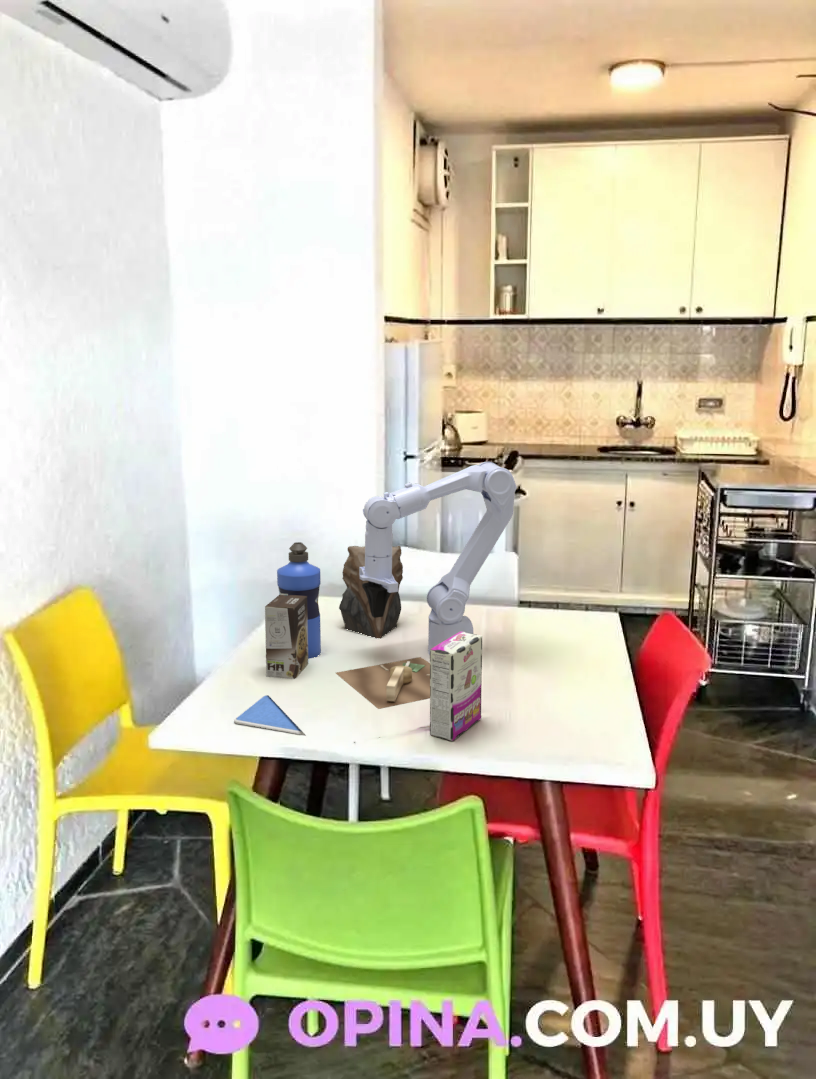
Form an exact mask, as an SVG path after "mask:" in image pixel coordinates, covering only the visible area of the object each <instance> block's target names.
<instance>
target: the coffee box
mask: <svg viewBox="0 0 816 1079" xmlns="http://www.w3.org/2000/svg"><path fill="white" fill-rule="evenodd" d="M264 617H265V618H264V620H265V621H264V624H265V627H264V630H265V664H266V665H265V668H266V669H265V670H266V674H265V676H266V677H267V678H279V679H290V680H295V679H297V678H298V676H300V674H301V673H302V672H303V671H304V669H305V668H307V666H308V665H309V659H308V617H307V596H298V595H279V594H278V595H277V596H276V597H275V598H273V599H272V600H271V601H270V602H269V603H267V604H266V605H265V606H264Z"/></svg>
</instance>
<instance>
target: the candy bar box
mask: <svg viewBox="0 0 816 1079" xmlns="http://www.w3.org/2000/svg"><path fill="white" fill-rule="evenodd" d="M429 663H430V698H429V734H430V735H431V736H432V737H434V736H435V738H438V737H440V738H439V739H442V738H443V740H447V741H450V742H453V741H455V740H456V739H457V738H459V737H460V736H461V735H463V734H464V733H465V732H467V730H468V728H469V729H471V727H472V726H473V725H475V724H476V723H478V722H479V721H480V720H482V681H483V680H482V675H483V674H482V673H483V671H482V670H483V666H482V665H483V635H480V634H475V633H473V634H472V633H467V632H458V633H457V634H455V635H453V636H452V637H450V638H448V639H447V640H445V641H443V642H442V643H440V644H438V645H436V646H435V647H433V648H431V649H430V655H429ZM463 732H464V733H463ZM458 736H459V737H458Z"/></svg>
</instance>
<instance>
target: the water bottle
mask: <svg viewBox="0 0 816 1079" xmlns="http://www.w3.org/2000/svg"><path fill="white" fill-rule="evenodd" d="M307 549H308V547H307V546H306V545H305V543H303V542H301V541H296V542H293V543H292V545H291V546H290V547H289V548H288V550H290V551H289V552H288V563H287V564H285V565H283V566H280V567H279V568H277V570H276V576H277V577H276V579H277V581H276V583H277V587H278V593H279V594H278V595H298V596H307V617H308V660H310V659H315V658H318V657H319V656H320V655H321V654H320V653H322V649H321V648H322V647H321V644H322V641H321V638H322V636H321V633H322V632H321V631H322V630H321V613H320V608H319V607H320V606H319V596H320V585H321V584H322V583H321V568H320V567H318V566H315V565H314V564H311V563H309V552H308V551H307ZM318 655H319V656H318ZM314 657H315V658H314Z"/></svg>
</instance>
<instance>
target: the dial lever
mask: <svg viewBox="0 0 816 1079" xmlns="http://www.w3.org/2000/svg"><path fill="white" fill-rule="evenodd" d="M409 665H410V661H407V663H406V665H405V666H395V667H392V668H391V669H390V680H389V682H388V684H387V686H386V701H395V700H396V698H397V696H398V693H399V691H400V689H401V687H402V685H403V683H408V682H410V681H412V668H410V667H409Z"/></svg>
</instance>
